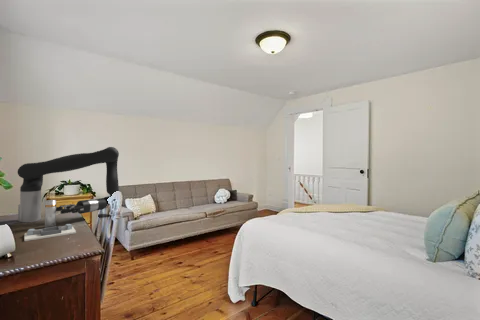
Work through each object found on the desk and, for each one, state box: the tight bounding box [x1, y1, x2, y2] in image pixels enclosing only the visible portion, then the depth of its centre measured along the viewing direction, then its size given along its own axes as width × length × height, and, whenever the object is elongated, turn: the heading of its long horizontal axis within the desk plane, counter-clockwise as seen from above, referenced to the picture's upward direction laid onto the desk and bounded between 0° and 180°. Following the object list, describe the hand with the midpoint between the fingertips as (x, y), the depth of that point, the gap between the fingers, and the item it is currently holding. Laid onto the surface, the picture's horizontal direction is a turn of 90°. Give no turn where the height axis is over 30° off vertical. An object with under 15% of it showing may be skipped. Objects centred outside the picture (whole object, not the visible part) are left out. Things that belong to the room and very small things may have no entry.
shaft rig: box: [23, 223, 77, 242], centre depth 118 cm, size 19×11×3 cm, turn 131°
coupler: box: [44, 199, 57, 228], centre depth 129 cm, size 5×5×14 cm
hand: (56, 210), depth 132 cm, fingers open, 8 cm apart
